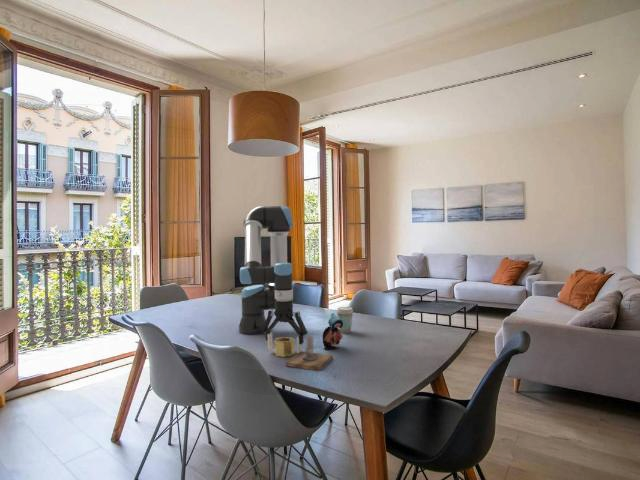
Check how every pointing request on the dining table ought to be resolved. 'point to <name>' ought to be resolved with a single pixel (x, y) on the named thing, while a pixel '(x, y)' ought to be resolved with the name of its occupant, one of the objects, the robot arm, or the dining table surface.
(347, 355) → the dining table surface
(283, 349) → the hub
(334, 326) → the figurine
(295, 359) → the shaft block
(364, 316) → the dining table surface
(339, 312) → the coffee cup
